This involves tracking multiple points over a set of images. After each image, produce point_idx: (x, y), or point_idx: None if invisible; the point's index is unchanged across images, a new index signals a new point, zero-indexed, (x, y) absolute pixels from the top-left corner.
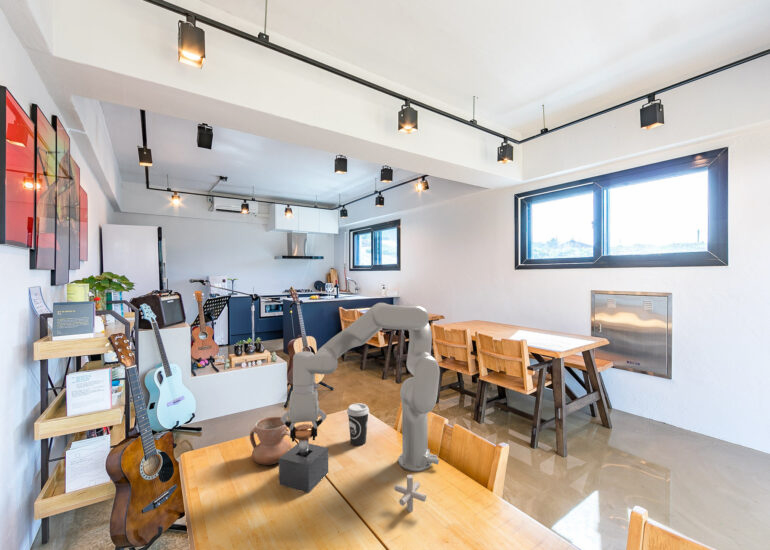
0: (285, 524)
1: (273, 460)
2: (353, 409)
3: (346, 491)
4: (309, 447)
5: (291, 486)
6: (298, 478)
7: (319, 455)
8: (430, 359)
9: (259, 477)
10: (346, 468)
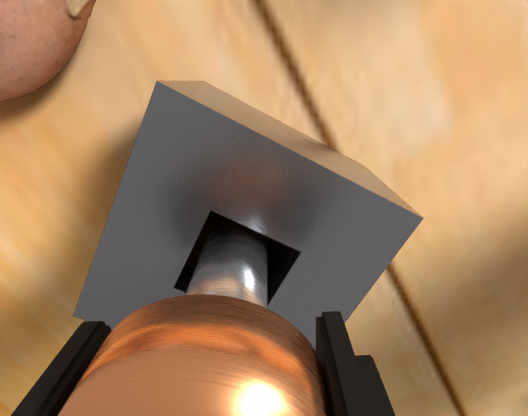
0: None
1: (20, 96)
2: None
3: (434, 298)
4: (264, 198)
5: None
6: None
7: (351, 312)
8: None
9: (20, 171)
10: (466, 132)
